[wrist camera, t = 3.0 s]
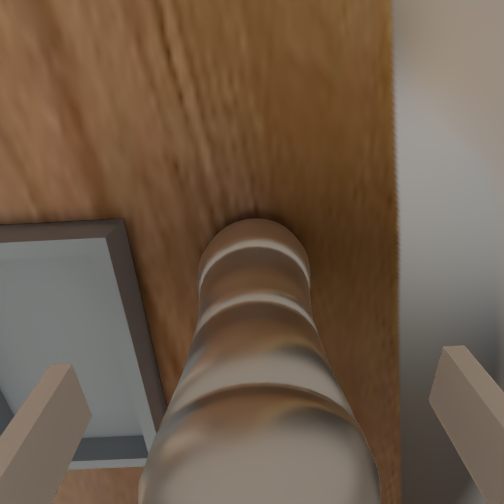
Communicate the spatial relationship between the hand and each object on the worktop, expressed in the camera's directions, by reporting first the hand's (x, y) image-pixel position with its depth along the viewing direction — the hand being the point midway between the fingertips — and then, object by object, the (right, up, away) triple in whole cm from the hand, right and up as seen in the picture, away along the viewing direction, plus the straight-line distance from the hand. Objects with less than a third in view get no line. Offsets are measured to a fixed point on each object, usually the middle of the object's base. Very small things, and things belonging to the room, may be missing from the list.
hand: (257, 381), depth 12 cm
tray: (-14, -2, +13) cm, 20 cm away
